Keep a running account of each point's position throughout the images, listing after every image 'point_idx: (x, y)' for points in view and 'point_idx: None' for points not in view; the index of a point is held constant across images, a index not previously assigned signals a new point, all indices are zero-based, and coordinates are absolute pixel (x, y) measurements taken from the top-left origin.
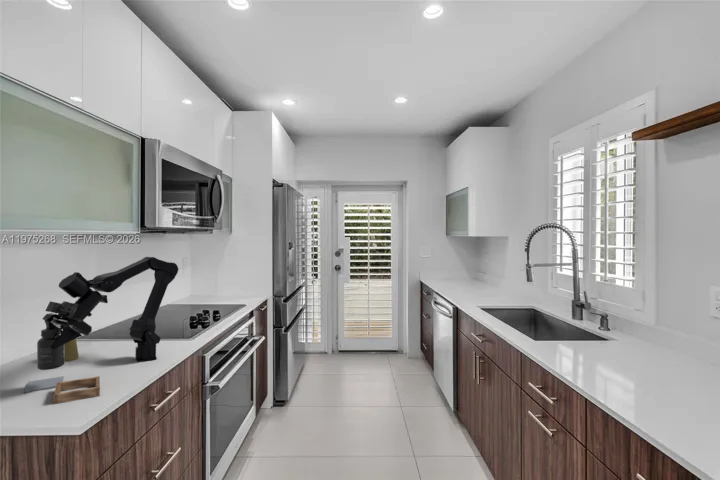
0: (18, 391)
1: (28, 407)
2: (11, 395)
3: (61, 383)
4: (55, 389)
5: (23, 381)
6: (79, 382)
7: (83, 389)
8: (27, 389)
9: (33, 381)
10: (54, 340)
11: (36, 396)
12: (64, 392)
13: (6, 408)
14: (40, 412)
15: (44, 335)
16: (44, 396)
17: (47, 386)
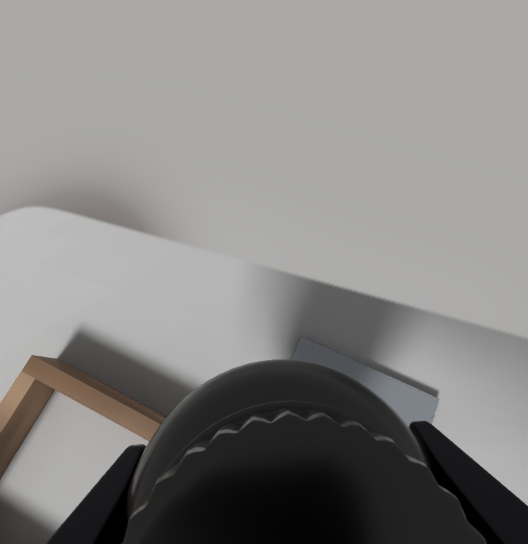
0: (342, 328)
1: (114, 289)
2: (311, 295)
3: None
4: (100, 392)
5: (485, 392)
6: None
7: None
8: (313, 351)
9: (422, 413)
10: (123, 522)
11: (209, 351)
12: (18, 401)
13: (177, 242)
14: (25, 297)
15: (218, 425)
16: (179, 371)
17: None
